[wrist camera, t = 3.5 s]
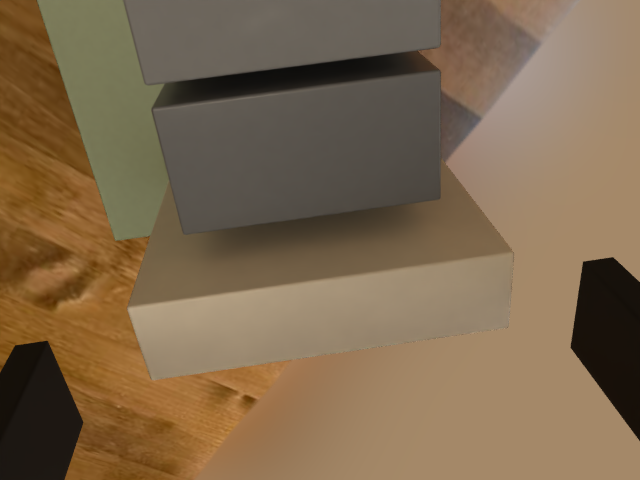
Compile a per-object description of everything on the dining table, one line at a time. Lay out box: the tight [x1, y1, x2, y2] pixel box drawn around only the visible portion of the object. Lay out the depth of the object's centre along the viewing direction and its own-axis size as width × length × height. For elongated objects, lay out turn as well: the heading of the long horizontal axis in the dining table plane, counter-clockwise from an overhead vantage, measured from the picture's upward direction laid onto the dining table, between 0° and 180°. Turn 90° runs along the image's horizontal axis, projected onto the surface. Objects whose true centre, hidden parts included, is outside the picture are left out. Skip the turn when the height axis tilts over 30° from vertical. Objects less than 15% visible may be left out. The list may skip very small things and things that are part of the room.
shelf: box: [37, 0, 441, 241], centre depth 23 cm, size 14×14×18 cm
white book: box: [127, 158, 514, 380], centre depth 20 cm, size 10×2×12 cm, turn 96°
